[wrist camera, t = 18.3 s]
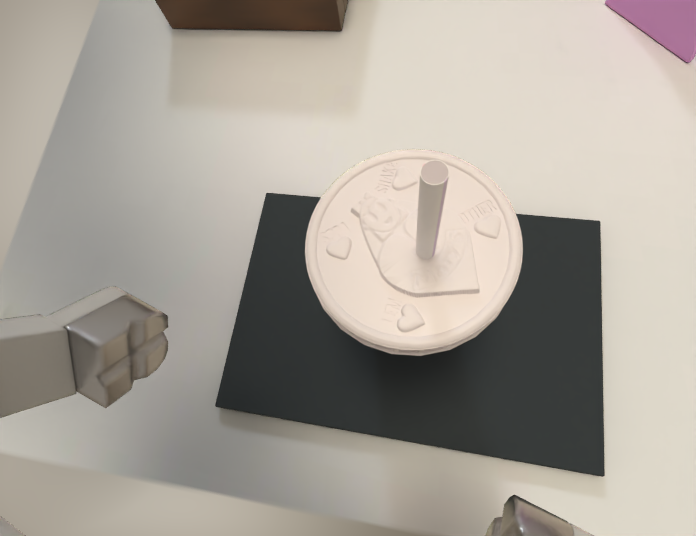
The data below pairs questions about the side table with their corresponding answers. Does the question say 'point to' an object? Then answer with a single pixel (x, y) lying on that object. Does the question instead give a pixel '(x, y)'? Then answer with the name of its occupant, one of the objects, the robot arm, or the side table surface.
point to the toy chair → (663, 22)
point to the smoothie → (413, 251)
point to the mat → (433, 369)
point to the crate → (255, 14)
